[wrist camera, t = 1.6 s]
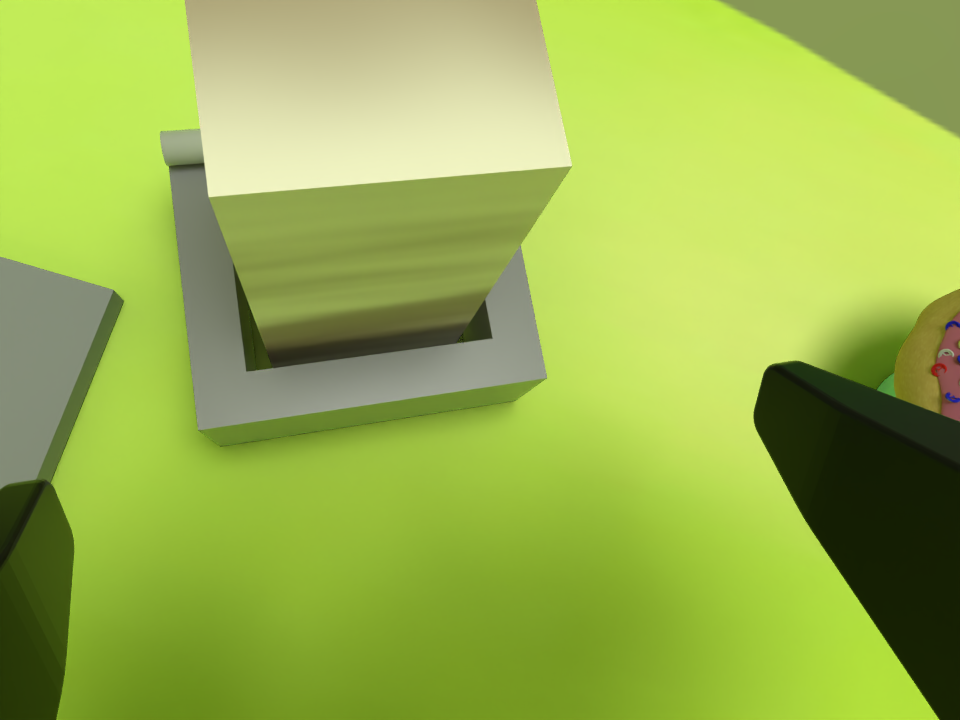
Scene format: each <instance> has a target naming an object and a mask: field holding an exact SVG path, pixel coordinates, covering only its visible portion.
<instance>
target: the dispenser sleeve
mask: <svg viewBox="0 0 960 720" xmlns="http://www.w3.org/2000/svg"><path fill="white" fill-rule="evenodd" d="M160 140H161V147H162V152H163V156H164V160H165V163H166V165H167V166H169V172H170V181H171V190H172V199H173V208H174V217H175V226H176V235H177V244H178V253H179V262H180V271H181V280H182V289H183V298H184V307H185V316H186V325H187V334H188V343H189V352H190V361H191V370H192V379H193V388H194V397H195V406H196V415H197V424H198V431H200V432H201V433H203V434H204V435H205V436H207V437H208V438H209V439H211V440H212V441H213V442H215V443H216V444H218V445H219V446H220V447H221V446H227V445H234V444H240V443H246V442H253V441H259V440H266V439H272V438H279V437H285V436H292V435H298V434H305V433H311V432H317V431H324V430H330V429H337V428H343V427H350V426H356V425H363V424H369V423H375V422H382V421H388V420H395V419H401V418H408V417H414V416H421V415H427V414H434V413H440V412H446V411H453V410H459V409H466V408H472V407H479V406H485V405H492V404H498V403H505V402H511V401H516V400H517V399H518V398H520V397H521V396H523V395H524V394H525V393H527V392H528V391H530V390H531V389H532V388H534V387H535V386H537V385H538V384H539V383H541V382H542V381H544V380H545V379H547V375H546V370H545V365H544V360H543V355H542V350H541V345H540V340H539V335H538V330H537V325H536V320H535V315H534V310H533V305H532V300H531V295H530V290H529V285H528V280H527V275H526V270H525V265H524V260H523V255H522V250H521V245H520V246H519V248H518V250H517V251H516V253H515V254H514V256H513V257H512V259H511V260H510V262H509V263H508V265H507V266H506V268H505V269H504V271H503V272H502V274H501V275H500V277H499V278H498V280H497V282H496V283H495V285H494V286H493V288H492V289H491V291H490V292H489V294H488V295H487V297H486V298H485V300H484V301H483V303H482V304H481V306H480V307H479V309H478V311H477V312H476V314H475V315H474V317H473V318H472V320H471V321H470V323H469V324H468V326H467V327H466V329H465V330H464V332H463V338H464V343H456V344H449V345H441V346H434V347H427V348H419V349H412V350H404V351H397V352H390V353H382V354H375V355H367V356H360V357H353V358H345V359H338V360H330V361H323V362H316V363H308V364H301V365H293V366H286V367H279V368H271V369H264V370H257V368H256V360H255V352H254V344H253V337H252V329H251V321H250V313H249V305H248V301H247V298H246V295H245V293H244V290H243V287H242V285H241V282H240V279H239V277H238V274H237V271H236V269H235V266H234V263H233V261H232V258H231V255H230V253H229V250H228V247H227V245H226V242H225V239H224V237H223V234H222V232H221V229H220V226H219V224H218V221H217V218H216V216H215V213H214V210H213V208H212V205H211V202H210V200H209V197H208V188H207V180H206V172H205V163H204V155H203V147H202V139H201V130H200V129H188V130H173V131H161V132H160Z"/></svg>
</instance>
